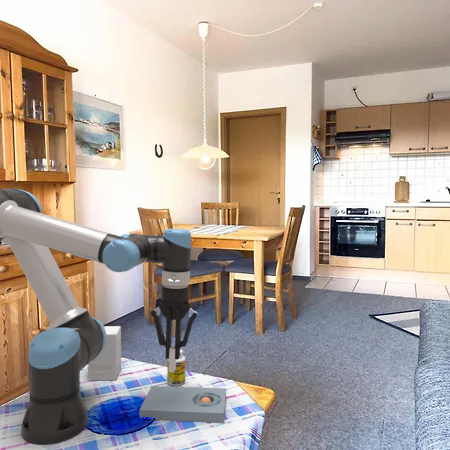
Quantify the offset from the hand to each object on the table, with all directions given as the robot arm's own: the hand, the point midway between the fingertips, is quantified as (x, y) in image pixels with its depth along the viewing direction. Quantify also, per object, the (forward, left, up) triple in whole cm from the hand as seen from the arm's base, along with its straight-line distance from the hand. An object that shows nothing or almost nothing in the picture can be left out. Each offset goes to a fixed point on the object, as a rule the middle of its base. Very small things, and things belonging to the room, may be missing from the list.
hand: (172, 370), depth 112 cm
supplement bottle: (-1, +15, -11) cm, 18 cm away
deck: (+4, 0, -10) cm, 11 cm away
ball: (+9, 0, -9) cm, 13 cm away
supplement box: (-25, +19, -11) cm, 33 cm away
